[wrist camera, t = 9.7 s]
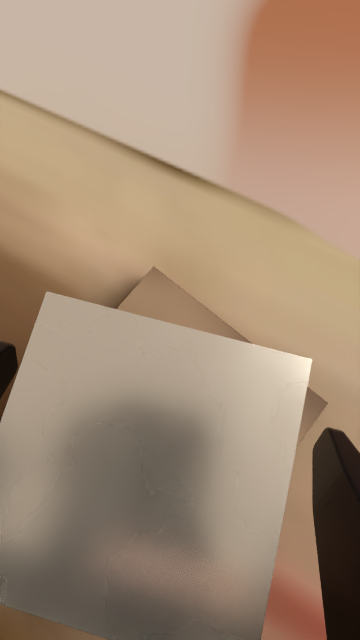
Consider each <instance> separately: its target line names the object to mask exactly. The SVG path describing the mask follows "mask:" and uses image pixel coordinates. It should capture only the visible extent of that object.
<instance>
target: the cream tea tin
mask: <svg viewBox="0 0 360 640" xmlns="http://www.w3.org/2000/svg"><path fill="white" fill-rule="evenodd" d="M311 363H312V359H309V358H305V357H301V356H297V355H294V354H290V353H286V352H282V351H278V350H274V349H270V348H266V347H262V346H258V345H254V344H251V343H247V342H243V341H239V340H235V339H231V338H227V337H223V336H219V335H215V334H211V333H207V332H204V331H200V330H196V329H192V328H188V327H184V326H180V325H176V324H172V323H168V322H164V321H160V320H157V319H153V318H149V317H145V316H141V315H137V314H133V313H129V312H125V311H121V310H117V309H113V308H110V307H106V306H102V305H98V304H94V303H90V302H86V301H82V300H78V299H74V298H70V297H66V296H63V295H59V294H55V293H51V292H46V295H45V297H44V300H43V303H42V306H41V309H40V312H39V314H38V317H37V320H36V323H35V326H34V329H33V331H32V334H31V337H30V340H29V343H28V345H27V348H26V351H25V354H24V357H23V360H22V362H21V365H20V368H19V371H18V374H17V377H16V379H15V382H14V385H13V388H12V391H11V393H10V396H9V399H8V402H7V405H6V408H5V410H4V413H3V416H2V419H1V422H0V604H1V605H4V606H7V607H10V608H14V609H17V610H20V611H23V612H26V613H29V614H32V615H35V616H38V617H41V618H44V619H47V620H51V621H54V622H57V623H60V624H63V625H66V626H69V627H72V628H75V629H78V630H81V631H84V632H88V633H91V634H94V635H97V636H100V637H103V638H106V639H109V640H261V635H262V629H263V624H264V619H265V613H266V608H267V602H268V597H269V591H270V586H271V581H272V575H273V570H274V564H275V559H276V553H277V548H278V543H279V537H280V532H281V526H282V521H283V515H284V510H285V505H286V499H287V494H288V488H289V483H290V477H291V472H292V467H293V461H294V456H295V450H296V445H297V439H298V434H299V429H300V423H301V418H302V412H303V407H304V401H305V396H306V391H307V385H308V380H309V374H310V369H311Z"/></svg>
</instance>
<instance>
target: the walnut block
mask: <svg viewBox="0 0 360 640" xmlns="http://www.w3.org/2000/svg"><path fill="white" fill-rule="evenodd" d="M117 310H121V311H125V312H129V313H133V314H137V315H141V316H145V317H149V318H153V319H157V320H160V321H164V322H168V323H172V324H176V325H180V326H184V327H188V328H192V329H196V330H200V331H204V332H207V333H211V334H215V335H219V336H223V337H227V338H231V339H235V340H239V341H243V342H247V343H251V342H250V341H248V340H247V339H246V338H245V337H243V336H242V335H241V334H239V333H238V332H237V331H236V330H234V329H233V328H232V327H231V326H229V325H228V324H227V323H225V322H224V321H223V320H222V319H220V318H219V317H218V316H217V315H215V314H214V313H213V312H211V311H210V310H209V309H208V308H206V307H205V306H204V305H203V304H201V303H200V302H199V301H197V300H196V299H195V298H194V297H192V296H191V295H190V294H189V293H187V292H186V291H185V290H183V289H182V288H181V287H180V286H178V285H177V284H176V283H175V282H173V281H172V280H171V279H169V278H168V277H167V276H166V275H164V274H163V273H162V272H161V271H159V270H158V269H157V268H155V267H153V268H152V269H151V270H150V271H149V272H148V274H147V275H146V276H145V277H144V278H143V279H142V280H141V281H140V283H139V284H138V285H137V286H136V287H135V288H134V289H133V291H132V292H131V293H130V294H129V295H128V296H127V297H126V299H125V300H124V301H123V302H122V303H121V304H120V305H119V306H118V308H117ZM251 344H252V343H251ZM327 404H328V403H327V402H326V401H325V400H324V399H322V398H321V397H320V396H318V395H317V394H316V393H315V392H313V391H312V390H311V389H310V388H308V387H307V391H306V396H305V401H304V407H303V412H302V418H301V423H300V429H299V434H298V439H297V445H296V447H297V446H298V444H299V443H300V442H301V440H302V439H303V437H304V436H305V435H306V433H307V432H308V430H309V429H310V428H311V426H312V425H313V424H314V422H315V421H316V419H317V418H318V417H319V415H320V414H321V412H322V411H323V410H324V408H325V407H326V405H327Z"/></svg>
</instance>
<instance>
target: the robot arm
mask: <svg viewBox="0 0 360 640" xmlns="http://www.w3.org/2000/svg"><path fill="white" fill-rule="evenodd" d="M17 368H18V363H17V356H16V349H15V346H14V345H13V344H11V343H7V342H3V341H0V399H1V397H2V395H3V394H4V392H5V390H6V388H7V387H8V385H9V383H10V382H11V380H12V378H13V377H14V375H15V373H16V371H17ZM313 517H314V526H315V536H316V545H317V554H318V563H319V572H320V581H321V590H322V599H323V608H324V617H325V626H326V635H327V640H360V453H359V451H358V450H357V449H356V447H355V446H354V445H353V444H352V442H351V441H350V440H349V438H348V437H347V436H346V434H345V433H344V432H343V431H341V430H337V429H333V428H329V427H328V428H326V429H325V430H324V431H323V432H322V434H321V435H320V437H319V439H318V440H317V442H316V443H315V445H314V448H313Z"/></svg>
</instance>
